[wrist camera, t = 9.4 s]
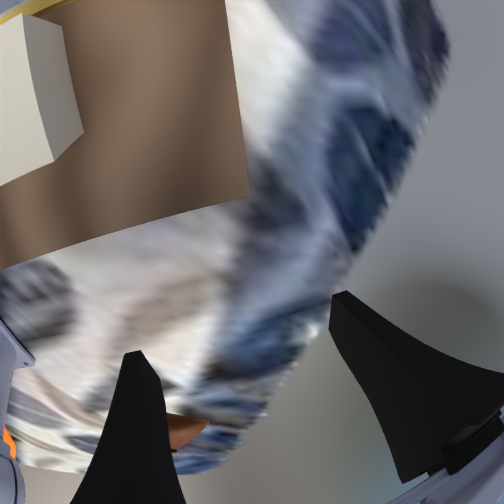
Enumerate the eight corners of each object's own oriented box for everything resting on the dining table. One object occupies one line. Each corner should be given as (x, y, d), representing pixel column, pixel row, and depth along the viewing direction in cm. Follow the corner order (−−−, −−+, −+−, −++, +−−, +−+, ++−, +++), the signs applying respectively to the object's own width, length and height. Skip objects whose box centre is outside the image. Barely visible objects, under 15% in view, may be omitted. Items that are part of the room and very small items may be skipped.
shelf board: (-3, 267, 15) (-11, 281, 14) (-71, 77, 6) (-85, 81, 5) (247, 191, 18) (255, 203, 17) (215, -44, 9) (221, -54, 8)
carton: (21, 158, 12) (-21, 197, 8) (-4, 55, 8) (-57, 60, 4) (84, 132, 12) (54, 161, 9) (61, 22, 9) (21, 7, 5)
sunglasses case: (154, 459, 39) (140, 488, 33) (118, 435, 38) (101, 463, 32) (214, 418, 34) (201, 457, 27) (168, 387, 33) (147, 424, 27)
